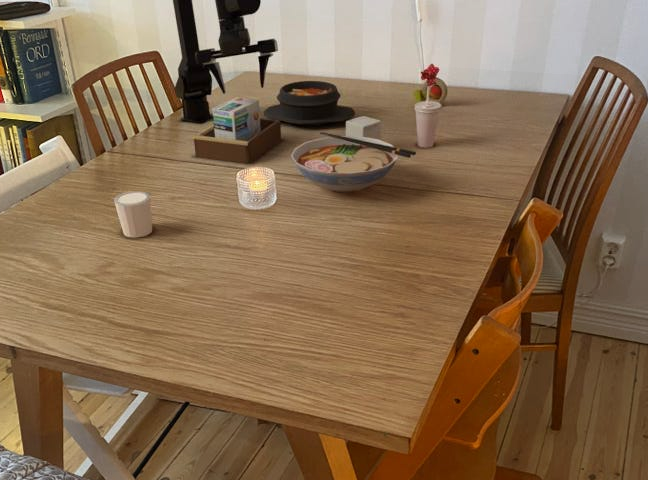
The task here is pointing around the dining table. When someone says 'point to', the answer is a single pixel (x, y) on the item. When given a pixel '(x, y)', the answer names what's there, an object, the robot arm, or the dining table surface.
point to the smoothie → (427, 121)
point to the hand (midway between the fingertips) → (243, 90)
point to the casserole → (309, 104)
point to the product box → (364, 127)
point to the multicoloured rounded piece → (436, 91)
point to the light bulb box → (237, 119)
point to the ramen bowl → (346, 161)
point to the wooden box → (237, 143)
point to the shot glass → (134, 213)
